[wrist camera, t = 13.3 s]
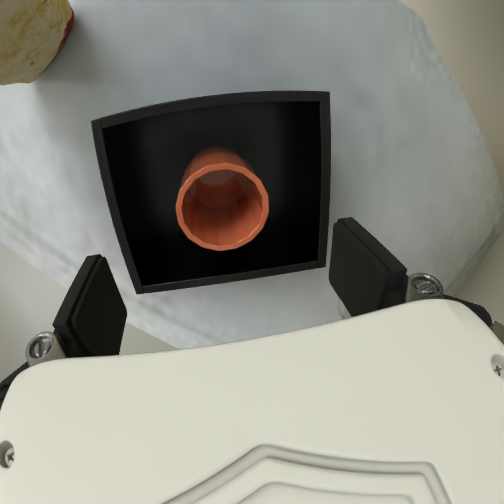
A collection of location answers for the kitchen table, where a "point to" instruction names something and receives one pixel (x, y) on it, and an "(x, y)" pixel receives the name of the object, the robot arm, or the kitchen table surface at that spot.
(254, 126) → the black storage bin
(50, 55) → the food model
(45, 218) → the kitchen table surface
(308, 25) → the kitchen table surface
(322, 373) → the robot arm
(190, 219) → the cup
